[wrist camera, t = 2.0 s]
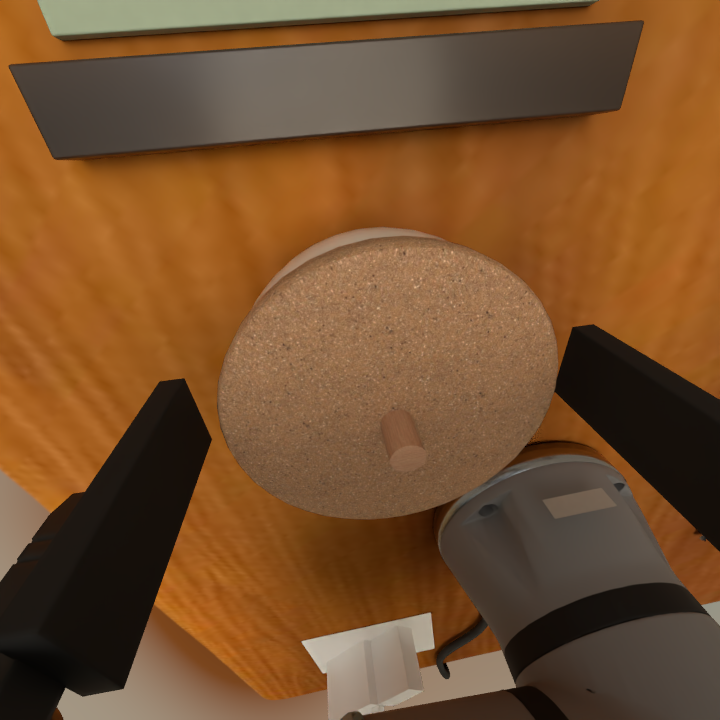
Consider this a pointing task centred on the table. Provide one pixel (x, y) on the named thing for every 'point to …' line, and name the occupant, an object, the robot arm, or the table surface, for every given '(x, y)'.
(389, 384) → the trinket box
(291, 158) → the table surface
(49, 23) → the mat
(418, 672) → the napkin holder
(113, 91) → the divider
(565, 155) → the table surface
